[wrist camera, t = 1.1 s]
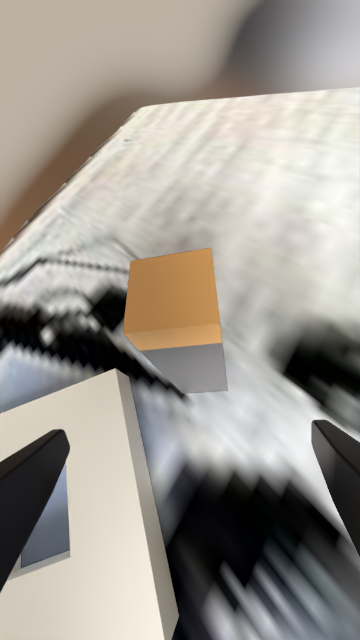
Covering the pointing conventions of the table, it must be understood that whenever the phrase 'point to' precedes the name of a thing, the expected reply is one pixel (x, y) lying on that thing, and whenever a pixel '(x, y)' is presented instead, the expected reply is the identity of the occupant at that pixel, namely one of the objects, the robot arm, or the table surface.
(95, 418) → the socket block
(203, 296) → the plug
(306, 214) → the table surface
